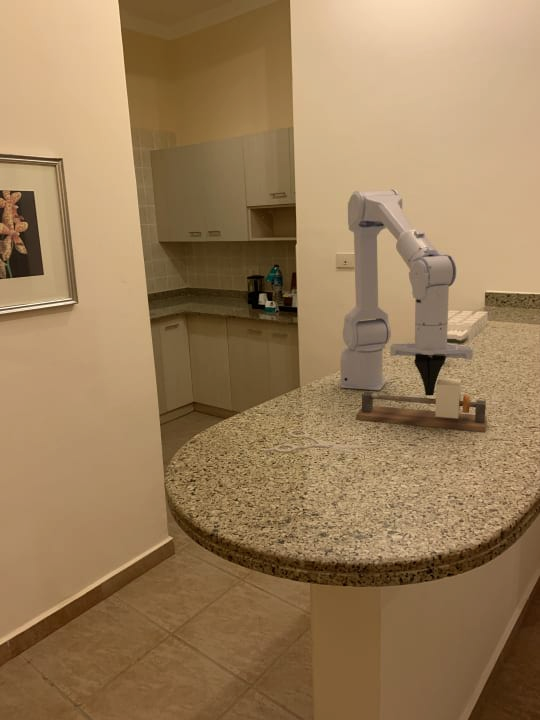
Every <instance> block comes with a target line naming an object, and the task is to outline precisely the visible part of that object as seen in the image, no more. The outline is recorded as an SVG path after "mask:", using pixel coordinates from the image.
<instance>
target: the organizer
mask: <svg viewBox="0 0 540 720" xmlns="http://www.w3.org/2000/svg"><path fill="white" fill-rule="evenodd" d="M488 315H489V311H478V310H477V311H476V312H474V310H473V311H472V310H463V311H460V310H448V329H447V340H448V339H450V340H456V341H464V340H472V339H473V338H474V337H475V336H476V335H478V334H479V333H480V332H481V331H482V330H483V329H484V328H485V327H486V326H487V325H488V323H489V322H488V319H489V316H488Z"/></svg>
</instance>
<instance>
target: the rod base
mask: <svg viewBox="0 0 540 720" xmlns="http://www.w3.org/2000/svg"><path fill="white" fill-rule="evenodd" d="M462 397H463V398H462V400H461V401H459V406H460V407H462V413H461V412H460V414H459V417H458V419H457V418H446V417H435V415H436V410H425V409H415V408H414V409H413V408H401V407H391V406H390V407H389V406H379V405H374V403H373V402H374V401H373V400H377V401H378V400H381V401H392V402H405V403H417V404H419V403H420V404H430V405H436V398H429V397H419V396H418V397H416V396H415V397H414V396H405V395H404V396H403V395H393V394H392V395H390V394H377V393H374V392H373V391H364V392H363V393H362V394H361V408H360V409H359V410H358V411H357V413H356V414H355V420H359V421H365V422H366V421H367V422H376V423H379V422H380V423H387V424H388V423H390V424H396V425H397V424H399V425H407V426H409V425H410V426H418V427H419V426H420V427H429V428H438V429H439V428H440V429H447V430H448V429H450V430H458V431H459V430H460V431H461V430H462V431H470V432H480V433H485V432H486V428H487V427H486V426H487V417H488V416H487V415H486V406H487V401H486V400H480V399H479V400H477V399H476V401H471V397H470V395H469V394H468V395H467V394H466V395H465V394H464V395H463V396H462ZM470 408H475V413H474V414H473V413H470Z"/></svg>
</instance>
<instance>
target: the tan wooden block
mask: <svg viewBox="0 0 540 720" xmlns="http://www.w3.org/2000/svg"><path fill="white" fill-rule="evenodd" d="M435 399H436V404H435V411H436V415H435V417H446V418H457V419H458V417H459V414H460V413H461V406H459V401H462V400H461V399H462V379H461V378H443V377H438V379H437V381H436V384H435Z"/></svg>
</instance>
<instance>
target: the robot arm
mask: <svg viewBox="0 0 540 720" xmlns="http://www.w3.org/2000/svg"><path fill="white" fill-rule="evenodd" d="M348 200H349V201H348V202H347V225H348V231H350V232H352V233H353V244H354V246H353V247H354V249H353V251H354V283H355V284H354V285H355V287H354V288H355V306H354V307H353V308H352V309H351V310H350V311H349V312H348V313H346V314H345V316H344V321H343V322H344V323H343V328H342V339H343V342H344V344H345V346H346V347H344V348H343V349H342V351H341V354H340V386H339V387H340V388H341V389H342V388H343V389H355V390H370V391H381V390H382V389H383V387H384V386H385V384H386V383H387V382H388V379H385V378H383V370H384V369H383V349H386V345H387V344H388V343H389V342H390V339H391V335H392V331H391V326H390V322H389V314H388V313H387V312H386V311H385V310H383V309H382V308H380V307H379V281H378V279H379V278H378V275H379V274H378V272H379V271H378V270H379V269H378V267H379V266H378V236H379V234H380V233H381V231H383V230H385V229H387V230H388V231H389V232H390V234H391V235H392V236H393V237H394V238H395V239H396V243H395V248H396V251H397V253H398V254H399V255H400V257H401V258H402V260H403V261H404V263H405V264H406V266H407V267H408V269H409V272H408V277H409V283H410V286H411V288H412V289H411V290H412V293H411V294H412V297H413V299H415V306H414V307H415V308H414V309H415V312H414V314H415V315H414V343H392V344H391V345H390V346H389V347H390V348H389V350H390V352H389V353H390V354H389V355H390V357H396V356H407V357H410V356H411V357H414V360H413V361H414V365H415V367H416V369H417V370H418V373H419V374H420V377H421V380H422V383H423V387H424V394H425V396H434V394H435V390H436V384H437V381H438V378H439V377H438V376H439V374H440V372H441V369H442V367H443V365H444V364H445V361H446V359H447V358H450V359H451V358H452V359H453V358H454V359H465V360H472V359H473V355H474V347H473V346H466V345H465V346H464V345H458V344H457V345H456V344H448V338H447V329H448V311H449V294H450V293H449V291H450V289H449V288H450V287H452V285H453V284H454V282H455V281H456V279H457V278H456V277H457V267H456V262H455V260H454V259H453V257H452V255H451V254H449V253H446V254H445V253H443V252H439V251H438V250H437V249H436V247H435V246H434V244H432V242H431V241H430V240H429V238H428V237H427V235H426V234H425V232H424V231H423V229H419V228H413V226H412V224H411V223H410V221H409V219H408V218H407V216H406V214H405V213H404V211H403V197H402V196H401V195H400V193H399V191H398V190H396V189H395V188H393V189H388V190H386V189H385V190H368V191H367V190H366V191H365V190H364V191H363V190H355V191H354V192H352V194H351V196H350V198H349V199H348ZM431 357H432V358H431Z"/></svg>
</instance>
